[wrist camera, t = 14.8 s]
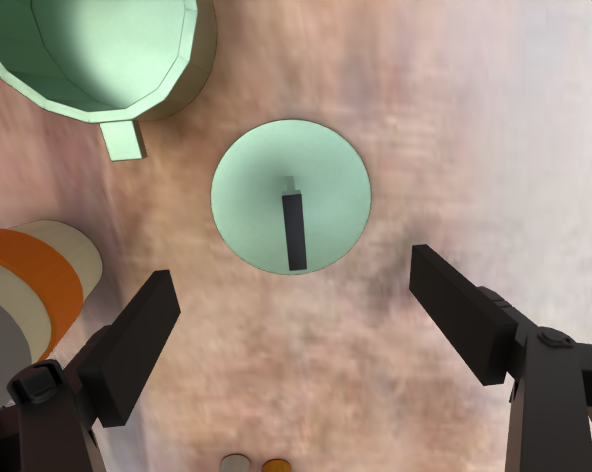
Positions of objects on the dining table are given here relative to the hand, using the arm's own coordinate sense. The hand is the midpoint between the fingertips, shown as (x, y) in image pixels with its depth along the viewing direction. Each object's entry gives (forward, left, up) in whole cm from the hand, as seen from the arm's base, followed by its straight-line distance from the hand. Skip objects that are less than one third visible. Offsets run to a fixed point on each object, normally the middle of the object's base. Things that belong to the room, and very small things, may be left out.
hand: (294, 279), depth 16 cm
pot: (-12, +16, -15) cm, 25 cm away
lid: (0, 0, -14) cm, 14 cm away
